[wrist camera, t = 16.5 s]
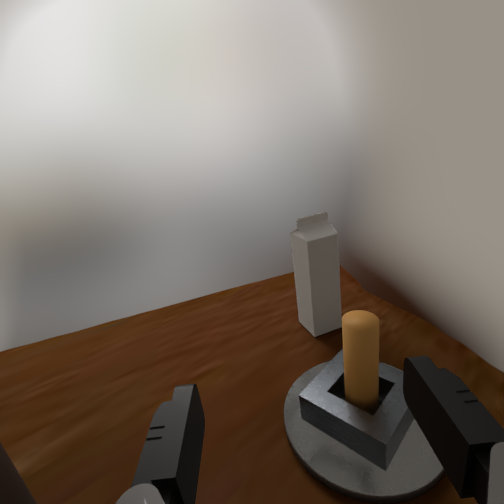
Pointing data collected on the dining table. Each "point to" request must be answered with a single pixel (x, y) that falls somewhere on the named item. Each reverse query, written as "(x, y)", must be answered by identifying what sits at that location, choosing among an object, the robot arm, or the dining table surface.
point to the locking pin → (361, 359)
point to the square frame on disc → (359, 437)
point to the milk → (317, 274)
